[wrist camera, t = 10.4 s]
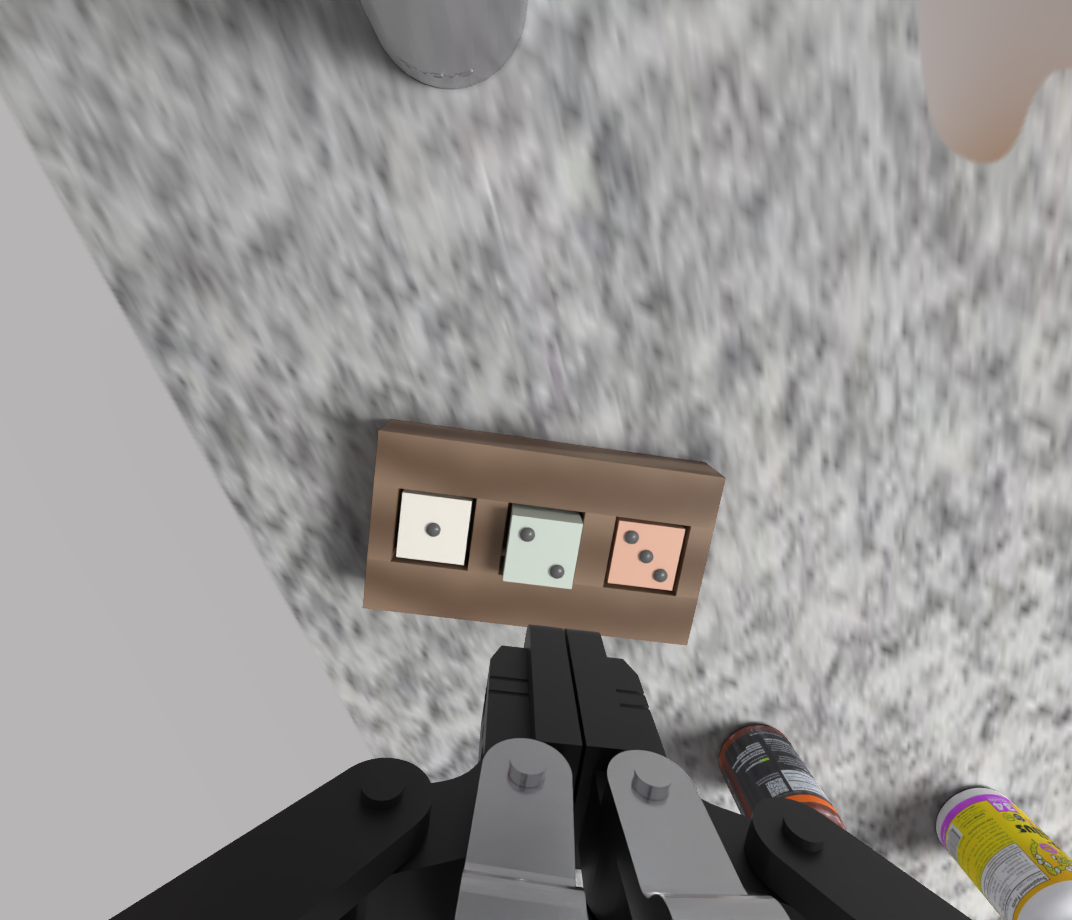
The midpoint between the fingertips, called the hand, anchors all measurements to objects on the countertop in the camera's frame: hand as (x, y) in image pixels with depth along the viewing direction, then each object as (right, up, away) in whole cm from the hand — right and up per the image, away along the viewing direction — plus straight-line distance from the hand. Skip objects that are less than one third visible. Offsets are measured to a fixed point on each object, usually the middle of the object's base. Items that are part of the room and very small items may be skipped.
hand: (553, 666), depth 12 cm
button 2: (0, -1, +27) cm, 27 cm away
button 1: (-7, +1, +29) cm, 29 cm away
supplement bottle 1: (+17, -19, +35) cm, 44 cm away
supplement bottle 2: (+36, -26, +38) cm, 58 cm away
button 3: (+7, -1, +30) cm, 30 cm away
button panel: (0, 0, +30) cm, 30 cm away
